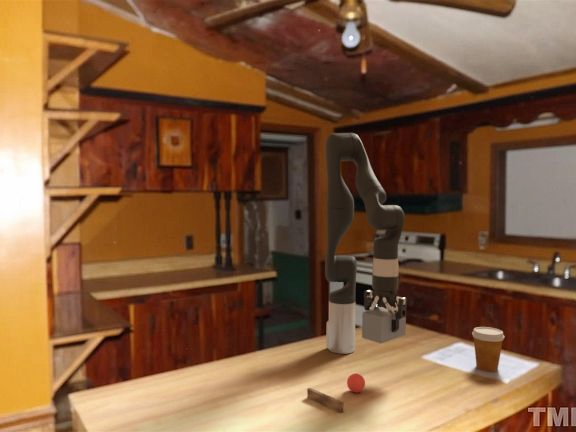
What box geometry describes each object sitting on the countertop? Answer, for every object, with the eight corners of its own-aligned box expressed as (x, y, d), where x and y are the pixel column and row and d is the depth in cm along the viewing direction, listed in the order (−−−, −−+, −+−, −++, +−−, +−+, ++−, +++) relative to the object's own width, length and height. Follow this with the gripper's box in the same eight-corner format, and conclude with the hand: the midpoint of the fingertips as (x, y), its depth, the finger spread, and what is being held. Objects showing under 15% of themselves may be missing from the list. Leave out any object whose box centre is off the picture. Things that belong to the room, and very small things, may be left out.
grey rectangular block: (362, 337, 142) (362, 312, 142) (386, 329, 150) (387, 305, 150) (380, 343, 137) (381, 317, 137) (405, 334, 145) (406, 309, 145)
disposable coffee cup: (502, 364, 158) (503, 328, 157) (504, 375, 149) (506, 336, 148) (470, 361, 161) (471, 325, 160) (471, 371, 152) (472, 333, 151)
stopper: (307, 397, 132) (307, 388, 131) (309, 396, 132) (310, 387, 132) (340, 413, 123) (340, 403, 123) (343, 411, 123) (343, 402, 123)
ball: (350, 367, 137) (356, 379, 140) (341, 381, 135) (347, 393, 137) (364, 372, 134) (370, 384, 136) (355, 387, 131) (362, 398, 133)
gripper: (357, 271, 145) (357, 325, 146) (398, 278, 135) (397, 337, 136) (373, 268, 150) (372, 321, 151) (413, 275, 140) (412, 331, 141)
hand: (384, 328), depth 144 cm, fingers closed on grey rectangular block, 7 cm apart
